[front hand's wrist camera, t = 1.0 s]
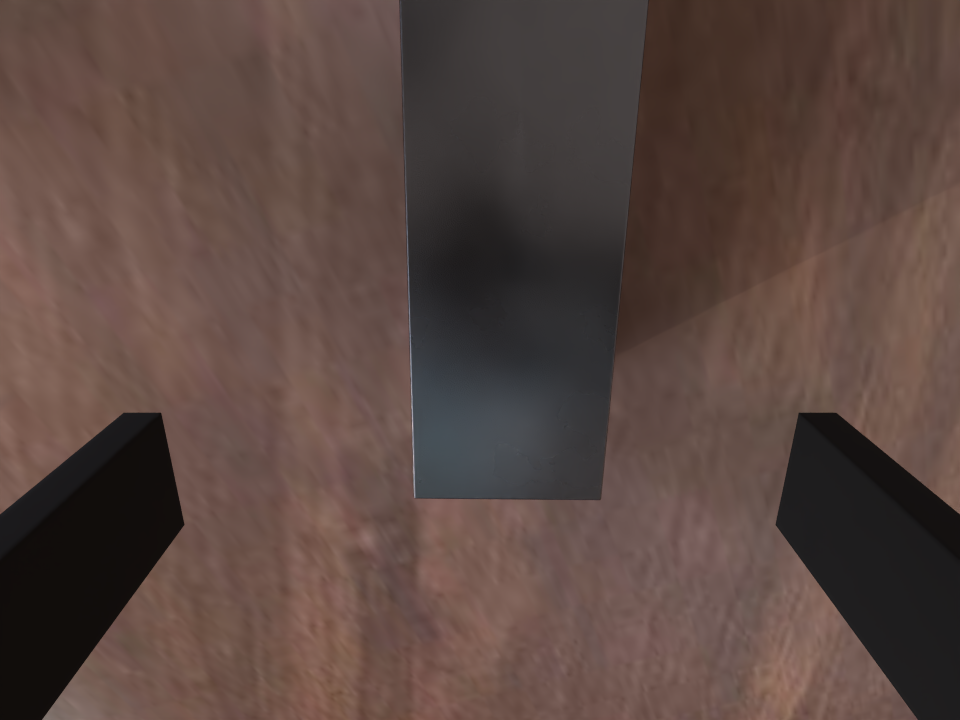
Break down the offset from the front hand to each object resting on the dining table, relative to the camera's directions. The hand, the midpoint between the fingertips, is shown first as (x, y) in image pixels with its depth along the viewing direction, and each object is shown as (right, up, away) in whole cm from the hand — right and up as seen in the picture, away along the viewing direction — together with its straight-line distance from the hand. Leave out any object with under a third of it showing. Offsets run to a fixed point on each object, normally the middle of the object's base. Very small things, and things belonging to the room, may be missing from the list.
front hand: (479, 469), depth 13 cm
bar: (+1, +12, +11) cm, 16 cm away
